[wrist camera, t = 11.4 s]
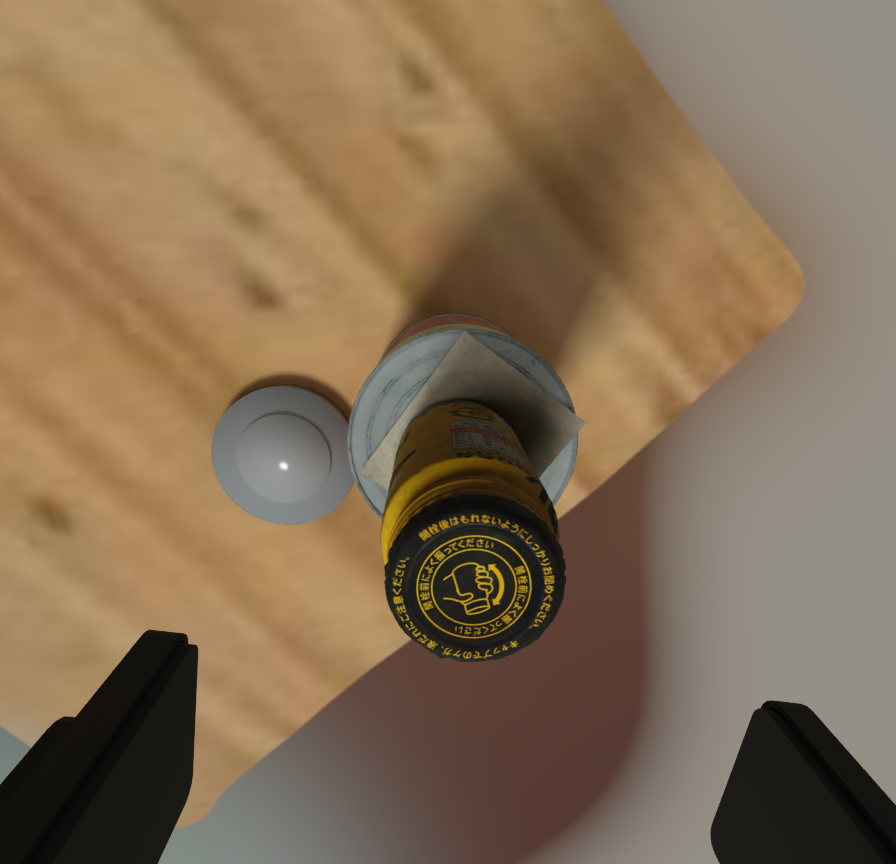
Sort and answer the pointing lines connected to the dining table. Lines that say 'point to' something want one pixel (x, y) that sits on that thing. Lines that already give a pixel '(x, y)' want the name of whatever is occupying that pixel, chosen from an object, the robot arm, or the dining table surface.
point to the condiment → (473, 508)
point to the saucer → (283, 454)
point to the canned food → (411, 369)
